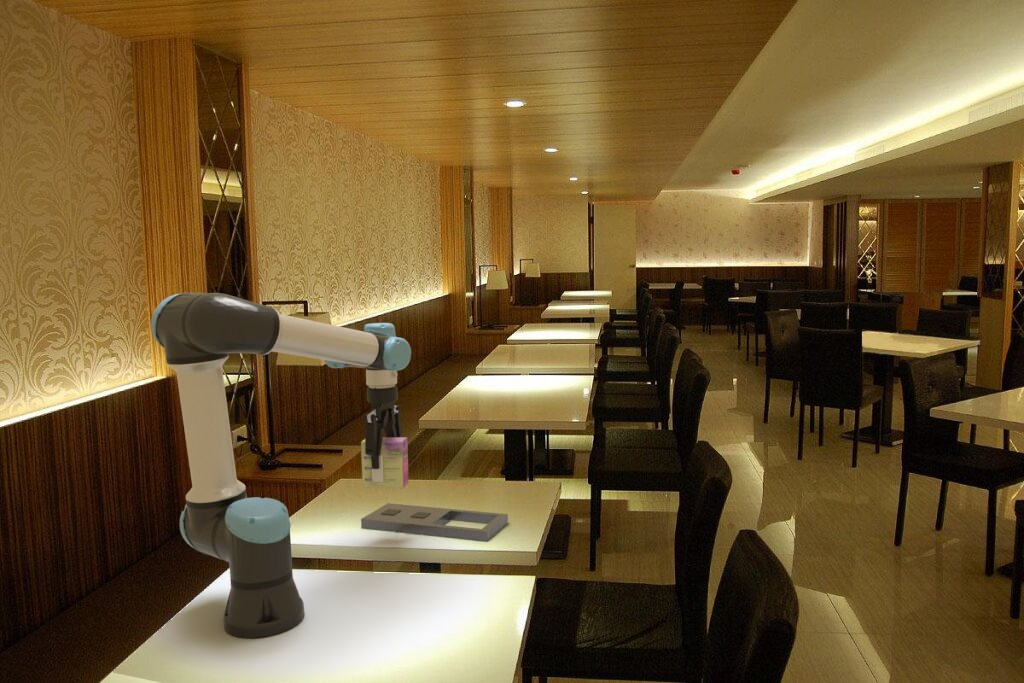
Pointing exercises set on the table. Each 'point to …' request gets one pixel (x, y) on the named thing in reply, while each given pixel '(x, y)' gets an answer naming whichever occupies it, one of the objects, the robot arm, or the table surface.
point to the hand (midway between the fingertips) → (385, 477)
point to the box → (388, 464)
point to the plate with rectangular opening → (434, 521)
